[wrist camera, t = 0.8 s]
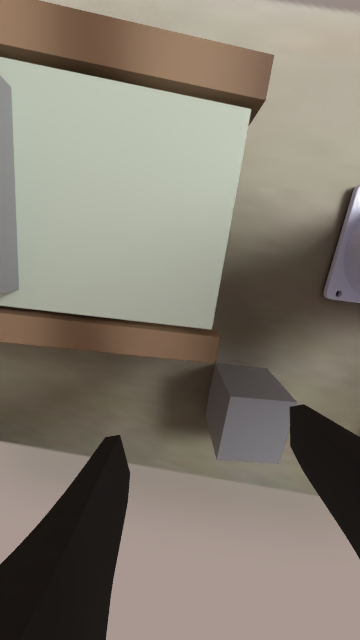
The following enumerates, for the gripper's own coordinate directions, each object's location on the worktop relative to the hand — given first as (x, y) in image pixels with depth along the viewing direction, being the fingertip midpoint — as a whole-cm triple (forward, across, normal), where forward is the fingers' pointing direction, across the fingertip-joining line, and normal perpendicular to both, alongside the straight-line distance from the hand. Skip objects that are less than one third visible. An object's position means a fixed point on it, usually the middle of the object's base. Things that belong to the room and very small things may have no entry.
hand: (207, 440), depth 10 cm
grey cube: (+10, -4, +4) cm, 11 cm away
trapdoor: (+5, +3, -10) cm, 11 cm away
